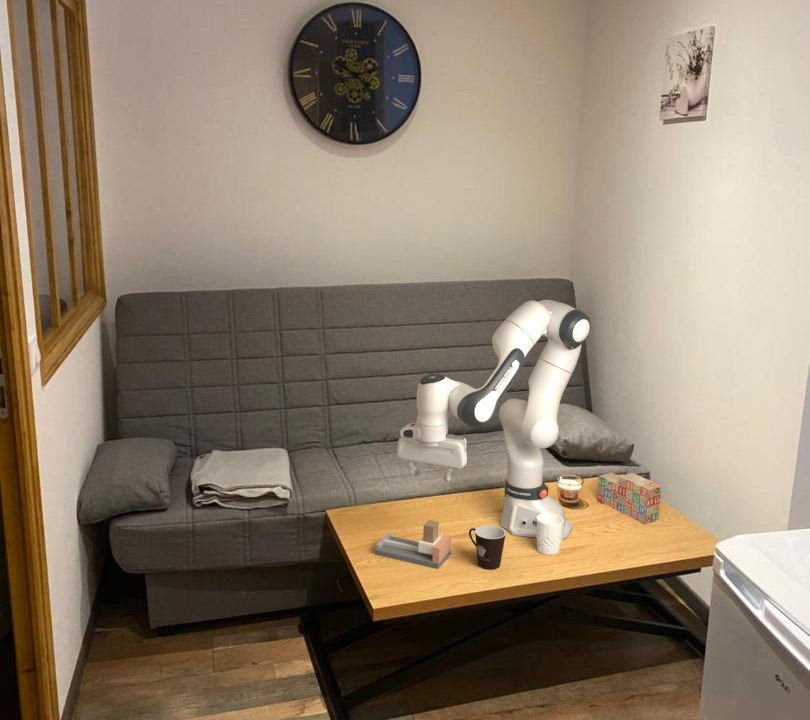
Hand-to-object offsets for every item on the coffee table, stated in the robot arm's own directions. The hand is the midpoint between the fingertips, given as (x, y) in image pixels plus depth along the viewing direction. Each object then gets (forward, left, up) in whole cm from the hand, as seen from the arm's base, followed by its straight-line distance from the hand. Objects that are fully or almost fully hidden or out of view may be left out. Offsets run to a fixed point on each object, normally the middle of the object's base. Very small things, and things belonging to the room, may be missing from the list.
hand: (431, 477), depth 232 cm
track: (+4, +3, -24) cm, 24 cm away
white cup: (-31, -17, -24) cm, 43 cm away
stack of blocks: (-47, -56, -24) cm, 77 cm away
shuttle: (-1, +3, -21) cm, 21 cm away
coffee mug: (-17, -2, -24) cm, 29 cm away
